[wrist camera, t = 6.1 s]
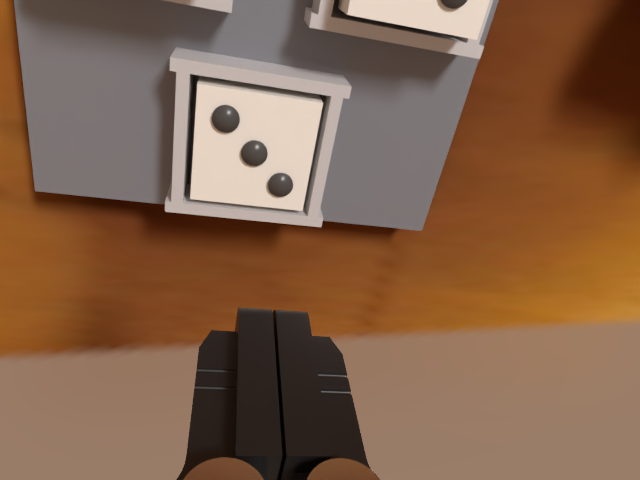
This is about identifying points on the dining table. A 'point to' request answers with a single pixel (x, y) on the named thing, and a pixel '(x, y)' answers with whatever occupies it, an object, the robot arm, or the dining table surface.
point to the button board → (249, 67)
